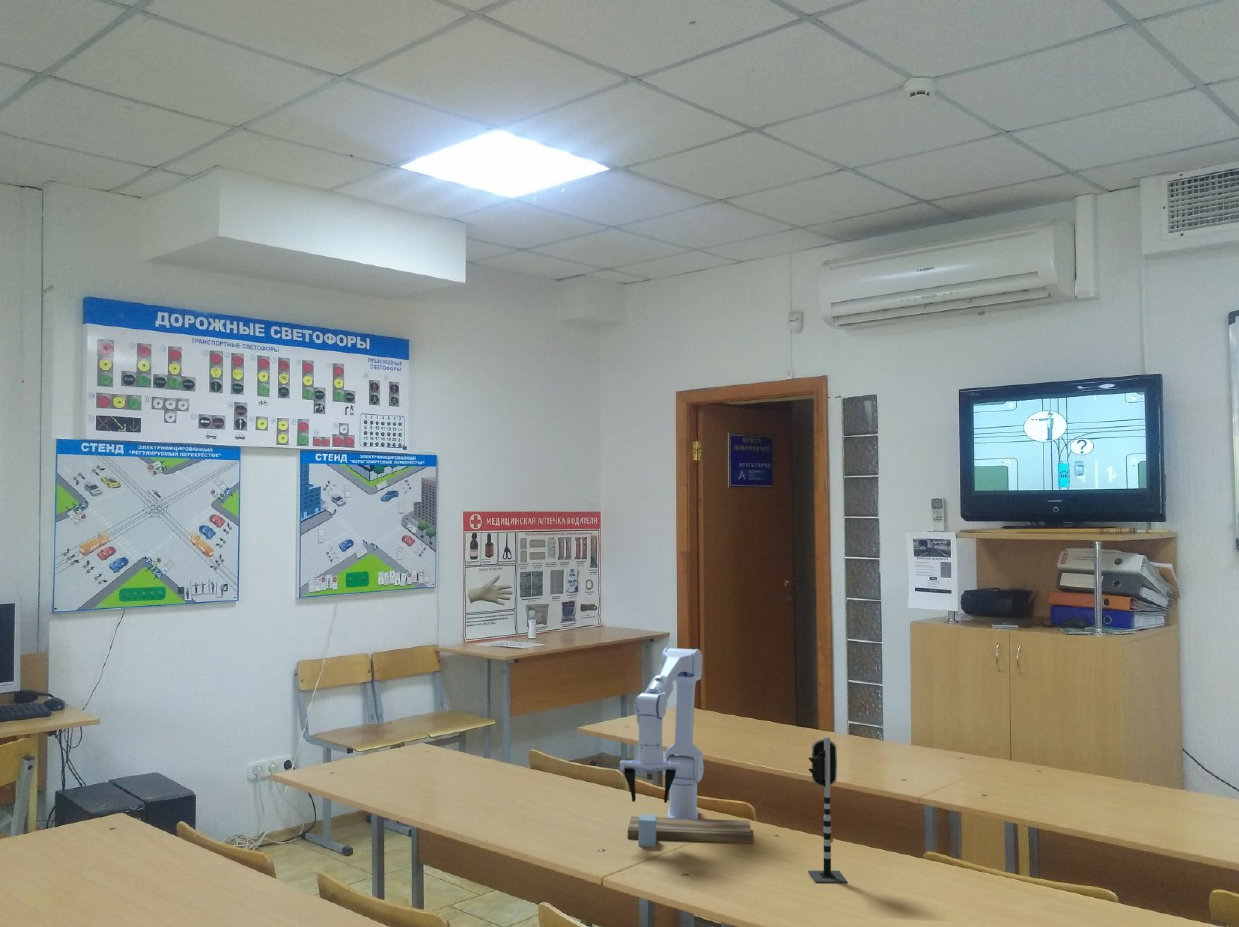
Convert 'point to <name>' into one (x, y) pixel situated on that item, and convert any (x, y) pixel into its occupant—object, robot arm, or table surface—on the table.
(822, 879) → the miniature traffic light
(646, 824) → the light blue block
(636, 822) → the board
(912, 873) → the table surface
